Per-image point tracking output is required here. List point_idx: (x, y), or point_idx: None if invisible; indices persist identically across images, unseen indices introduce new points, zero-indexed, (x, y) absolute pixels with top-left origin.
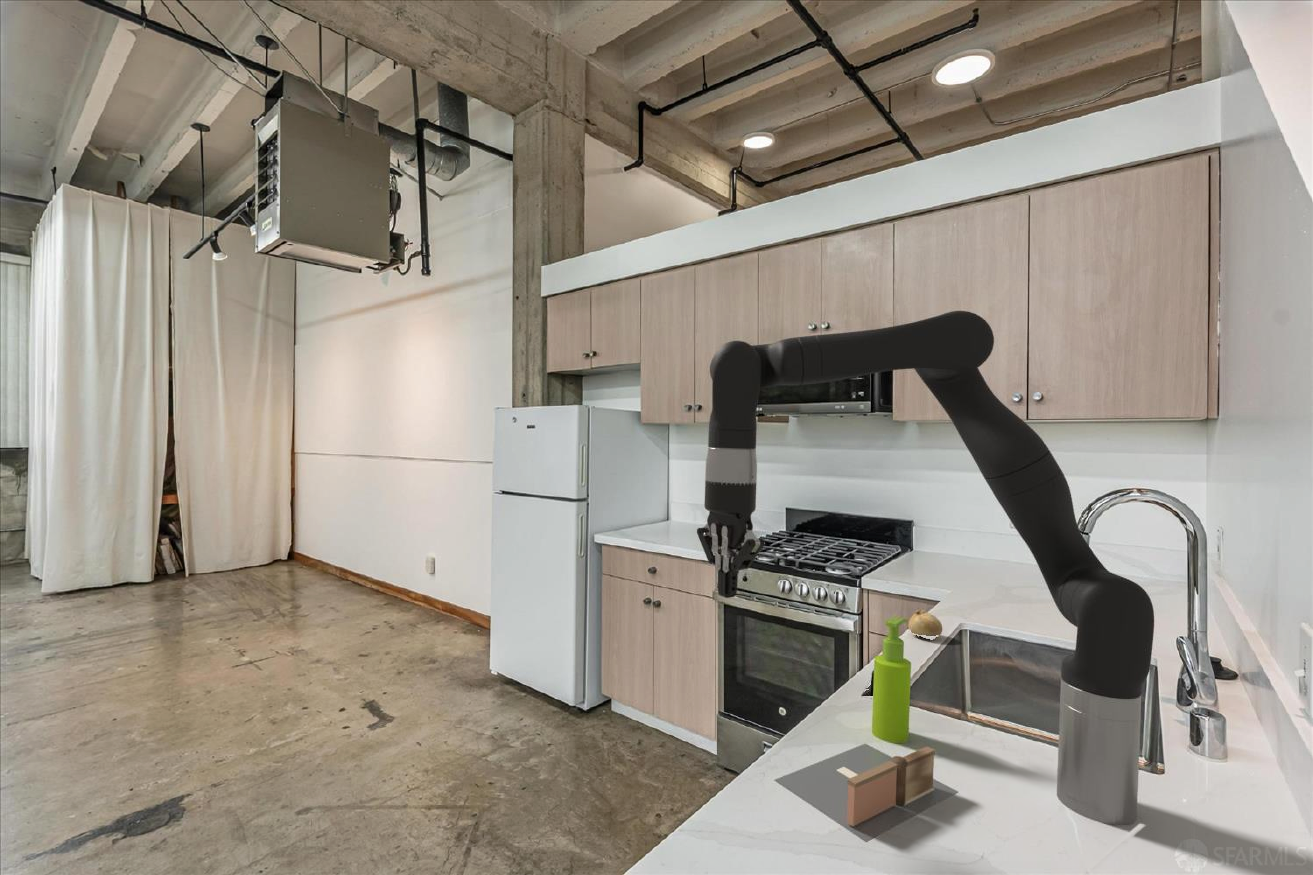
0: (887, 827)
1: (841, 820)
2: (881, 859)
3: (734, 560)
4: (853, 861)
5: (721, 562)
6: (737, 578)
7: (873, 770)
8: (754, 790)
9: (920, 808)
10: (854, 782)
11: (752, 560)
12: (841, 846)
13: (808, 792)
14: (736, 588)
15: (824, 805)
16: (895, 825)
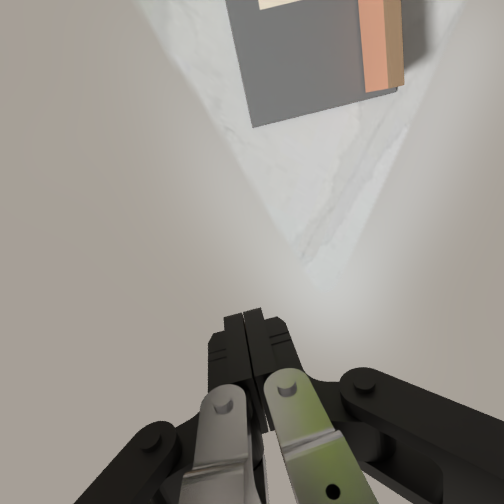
0: None
1: (355, 93)
2: (417, 92)
3: (393, 483)
4: (405, 126)
5: (266, 476)
6: (296, 354)
7: (392, 25)
8: (259, 163)
9: None
10: (401, 83)
11: (449, 406)
12: (383, 122)
13: (293, 97)
14: (287, 330)
15: (324, 94)
16: None
